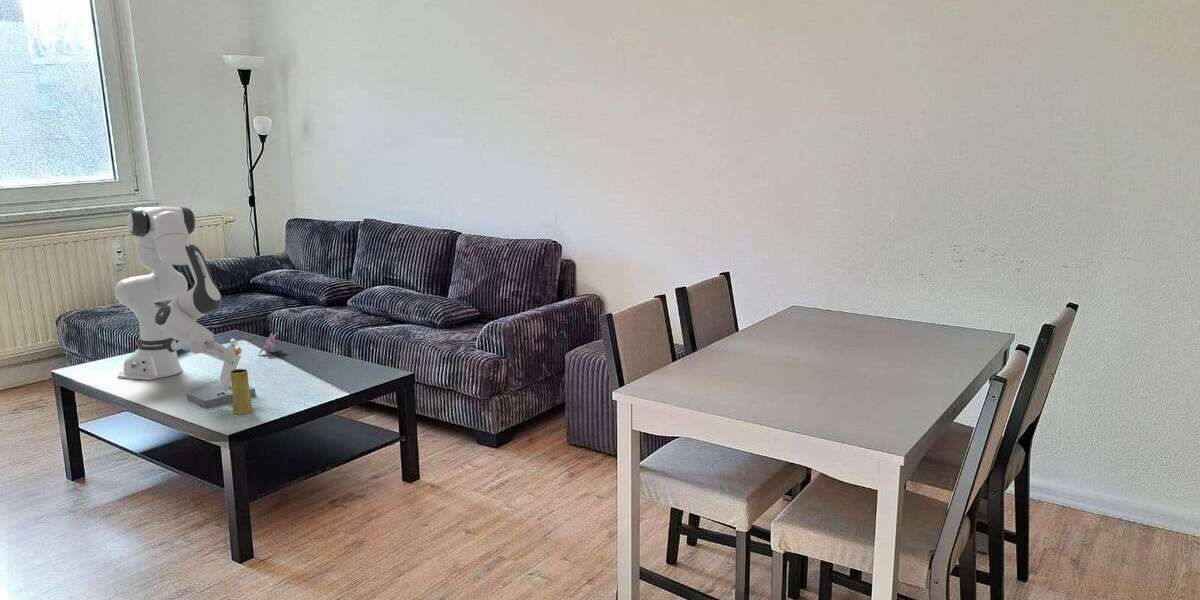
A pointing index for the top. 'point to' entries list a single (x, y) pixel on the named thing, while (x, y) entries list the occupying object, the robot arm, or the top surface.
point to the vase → (240, 391)
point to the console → (213, 396)
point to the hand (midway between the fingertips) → (230, 361)
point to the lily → (269, 343)
